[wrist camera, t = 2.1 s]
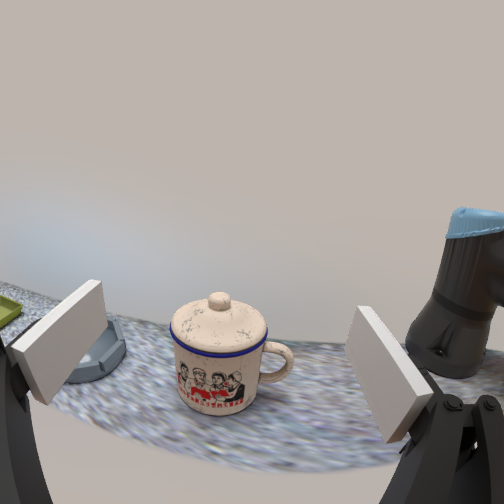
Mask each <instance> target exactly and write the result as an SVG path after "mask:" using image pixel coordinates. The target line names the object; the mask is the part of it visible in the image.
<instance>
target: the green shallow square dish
mask: <svg viewBox="0 0 504 504" xmlns="http://www.w3.org/2000/svg"><path fill="white" fill-rule="evenodd" d="M22 307H23V304H21V303H18V302H16V301H13V300H11V299H9V298H7V297H5V296H2V295H0V328H1V327H3V326H4V325H6V324H7V323H8V322H10V321H11V320H13V319H14V318H15V317H17V316H18V315H19V314H20V312H21V310H22Z"/></svg>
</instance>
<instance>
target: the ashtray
mask: <svg viewBox="0 0 504 504" xmlns="http://www.w3.org/2000/svg"><path fill="white" fill-rule="evenodd" d="M106 317H107V323H108V327H107V328H106V329H105V330H104V332H103V333H102V334H101V335H100V337H99V338H98V339H97V340H96V342H95V343H94V344H93V345H92V347H91V348H90V349H89V351H88V352H87V353H86V354H85V356H84V357H83V358H82V360H81V361H80V362H79V363H78V365H77V366H76V367H75V369H74V370H73V371H72V373H71V374H70V375H69V377H68V378H67V379H66V381H65V382H67V383H86V382H91V381H94V380H97V379H100V378H102V377H104V376H106V375H107V374H109V373H110V372H112V371H113V370H114V369H115V368H116V367H117V366H118V365H119V364H120V362H121V361H122V359H123V356H124V352H125V351H126V350H125V349H126V344H125V339H124V336H123V333H122V331H121V328H120V325H119V322H118V321H116V319H115V318H112V317H108V316H106Z"/></svg>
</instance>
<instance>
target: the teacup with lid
mask: <svg viewBox="0 0 504 504" xmlns="http://www.w3.org/2000/svg"><path fill="white" fill-rule="evenodd" d="M170 333H171V335H172V337H173V344H174V355H175V366H176V375H177V384H178V391H179V394H180V396H181V398H182V399H183V400H184V402H185V403H186V404H187V405H189V406H190V407H191V408H193V409H195V410H197V411H199V412H202V413H205V414H209V415H229V414H233V413H236V412H239V411H241V410H243V409H245V408H246V407H247V406H248V405H249V404H250V403H251V402H252V401H253V400H254V398H255V396H256V392H257V386H258V383H275V382H278V381H280V380H282V379H284V378H285V377H286V376H287V375H288V374H289V373H290V371H291V370H292V367H293V363H294V357H293V354H292V352H291V350H290V349H289V348H288V347H286V346H285V345H283V344H280V343H276V342H268V341H265V340H266V337H267V333H268V330H267V325H266V322H265V320H264V318H263V316H262V315H261V314H260V313H259V312H258V311H257V310H256V309H254V308H252V307H251V306H249V305H247V304H244V303H241V302H238V301H234V300H231V298H230V296H229V295H228V294H226V293H223V292H215V293H212V294H211V295H210V296H209V298H208V299H202V300H197V301H193V302H190V303H188V304H186V305H184V306H182V307H181V308H179V309H178V310H177V311H176V312H175V314H174V315H173V317H172V320H171V323H170ZM262 352H269V353H276V354H279V355H281V356H283V357H284V358H285V359H286V363H285V365H284V366H283V367H282V368H281V369H280V370H279V371H277V372H274V373H259V372H260V365H261V358H262Z"/></svg>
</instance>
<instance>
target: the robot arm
mask: <svg viewBox="0 0 504 504" xmlns="http://www.w3.org/2000/svg"><path fill="white" fill-rule="evenodd" d="M445 238H447V239H446V244H445V248H444V252H443V256H442V260H441V264H440V268H439V272H438V275H437V279H436V282H435V285H434V288H433V292H432V295H431V297H430V299H429V301H428V302H427V304H426V305H425V306H424V308H423V309H422V311H421V312H420V313H419V315H418V317H417V318H416V319H415V320H414V321H413V323H412V324H411V326H410V328H409V331H408V333H407V336H406V340H405V342H406V347H407V349H408V351H409V352H410V354H406V353H405V351H404V350H403V349H402V347H401V346H400V345H399V343H398V342H397V341H396V339H395V338H394V337H393V335H392V334H391V333H390V331H389V330H388V329H387V327H386V326H385V325H384V324H383V322H382V321H381V320H380V319H379V317H378V316H377V315H376V313H375V312H374V311H373V310H372V308H371V307H370V306H357V307H356V311H355V315H354V318H353V322H352V325H351V328H350V332H349V335H348V339H347V341H346V344H345V348H344V351H345V353H346V355H347V358H348V360H349V362H350V364H351V366H352V368H353V371H354V373H355V375H356V377H357V379H358V382H359V384H360V386H361V388H362V390H363V393H364V395H365V397H366V399H367V402H368V404H369V406H370V409H371V411H372V413H373V416H374V418H375V420H376V423H377V425H378V427H379V430H380V432H381V435H382V437H383V439H384V442H385V444H388V443H392V442H396V441H401V440H402V439H403V437H404V436H405V435H406V433H407V432H409V434H410V436H411V438H410V440H409V441H408V442H407V443H406V445H405V446H404V447H403V448H402V449H401V451H400V452H399V453H400V454H401V453H402V452H403V451H404V453H403V455H402V457H401V460H400V462H399V464H398V467H397V469H396V471H395V473H394V475H393V477H392V479H391V482H390V484H389V486H388V488H387V489H386V491H385V494H384V495H383V497H382V499H381V501H380V503H379V504H504V416H503V412H502V409H501V406H500V404H499V402H498V401H497V400H496V398H495V397H493V396H490V395H482V396H480V397H479V399H478V400H477V402H476V403H475V404H463V402H462V400H460V399H459V398H458V397H456V396H454V395H451V394H444V393H443V392H442V391H441V389H440V388H439V386H438V385H437V384H436V382H435V381H434V379H433V378H432V377H431V375H429V373H428V371H427V370H426V369H424V368H427V369H428V370H430V371H432V372H434V373H437V374H439V375H442V376H445V377H450V378H466V377H469V376H472V375H473V374H475V373H476V372H477V371H478V369H479V367H480V365H481V363H482V362H483V360H484V357H485V353H486V348H485V347H486V344H487V340H488V335H489V330H490V324H491V320H492V318H493V315H494V313H495V310H496V308H497V306H502V307H504V213H501V212H495V211H488V210H481V209H474V208H466V207H461V208H458V209H456V210H455V211H454V212H453V214H452V216H451V221H450V225H449V229H448V233H447V234H446V237H445ZM107 327H108V323H107V317H106V311H105V304H104V297H103V289H102V282H101V281H97V280H91V279H90V280H89V281H87V282H86V283H85V284H83V285H82V286H81V287H80V288H78V289H77V290H76V291H75V292H73V293H72V294H71V295H70V296H68V297H67V298H66V299H65V300H63V301H62V302H61V303H60V304H59V305H57V306H56V307H55V308H54V309H53V310H51V311H50V312H49V313H48V314H47V315H45V316H44V317H42V318H40V319H38V320H36V321H34V322H33V323H32V324H30V325H29V326H28V327H27V329H25V330H24V331H23V332H22V333H20V334H19V335H18V336H17V337H16V338H15V339H14V340H13V341H11V342H10V343H9V344H8V345H7V346H6V347H4V344H3V341H2V339H1V336H0V504H53V502H52V499H51V497H50V494H49V491H48V488H47V485H46V482H45V478H44V475H43V472H42V468H41V465H40V461H39V456H38V453H37V448H36V443H35V438H34V433H33V427H32V421H31V413H30V405H29V399H28V396H27V394H26V393H27V392H28V391H29V390H30V391H31V393H32V395H33V397H34V398H35V400H37V401H39V402H41V403H43V404H45V405H47V406H48V405H49V403H50V402H51V400H52V399H53V397H54V396H55V395H56V393H57V392H58V390H59V389H60V388H61V386H62V385H63V384H64V382H65V381H66V379H67V378H68V377H69V375H70V374H71V373H72V371H73V370H74V369H75V367H76V366H77V365H78V363H79V362H80V361H81V360H82V358H83V357H84V356H85V354H86V353H87V352H88V351H89V349H90V348H91V347H92V345H93V344H94V343H95V342H96V340H97V339H98V338H99V337H100V335H101V334H102V333H103V332H104V330H105V329H106V328H107ZM476 442H477V448H476V449H475V447H474V444H475V443H476Z"/></svg>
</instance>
